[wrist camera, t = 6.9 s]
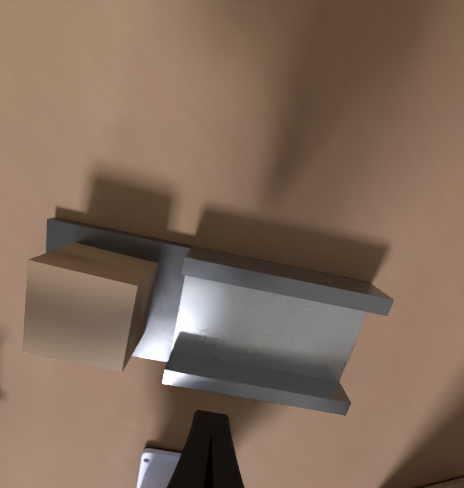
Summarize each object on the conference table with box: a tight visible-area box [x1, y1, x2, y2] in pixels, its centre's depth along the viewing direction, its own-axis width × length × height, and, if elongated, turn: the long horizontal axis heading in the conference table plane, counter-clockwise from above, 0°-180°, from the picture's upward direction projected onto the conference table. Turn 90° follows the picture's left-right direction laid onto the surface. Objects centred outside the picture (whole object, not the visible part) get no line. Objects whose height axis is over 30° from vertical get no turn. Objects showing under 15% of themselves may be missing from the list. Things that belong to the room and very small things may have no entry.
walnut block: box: [23, 243, 159, 373], centre depth 16 cm, size 6×6×4 cm
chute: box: [46, 218, 394, 415], centre depth 18 cm, size 10×24×3 cm, turn 78°
